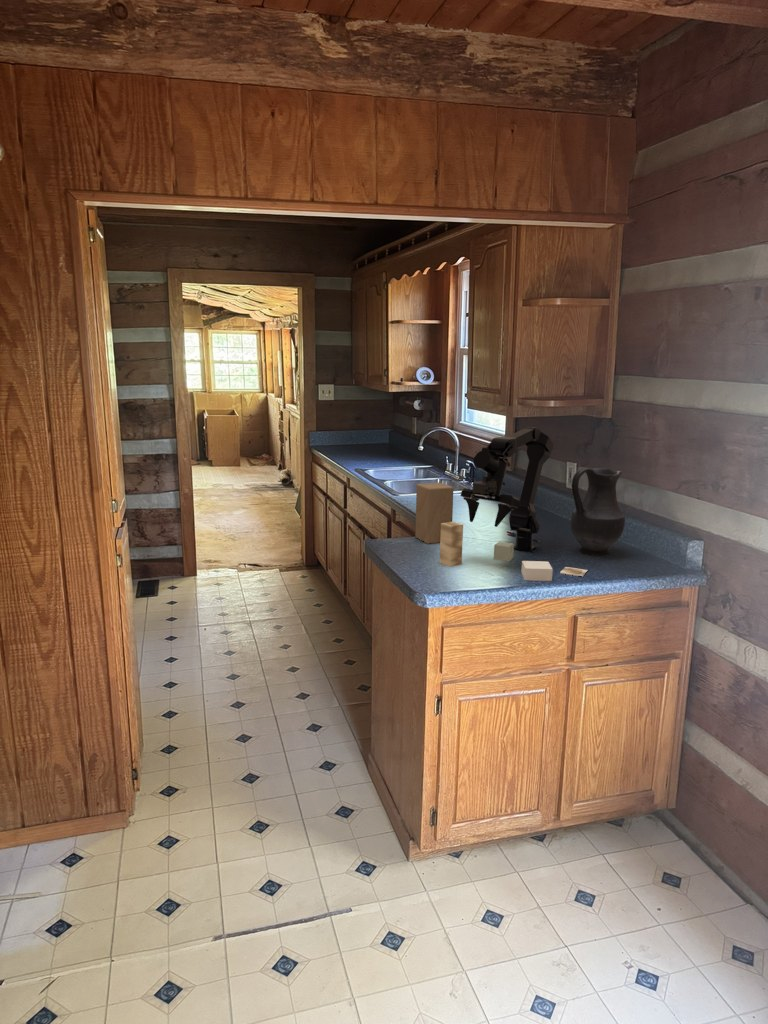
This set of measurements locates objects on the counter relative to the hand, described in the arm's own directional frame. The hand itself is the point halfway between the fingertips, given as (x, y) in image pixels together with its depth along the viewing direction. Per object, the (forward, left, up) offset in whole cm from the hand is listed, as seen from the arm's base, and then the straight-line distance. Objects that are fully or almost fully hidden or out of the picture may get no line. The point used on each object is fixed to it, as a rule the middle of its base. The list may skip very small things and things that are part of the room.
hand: (483, 524), depth 226 cm
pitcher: (-31, +28, -13) cm, 44 cm away
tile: (-6, +28, -13) cm, 32 cm away
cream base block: (+4, +19, -14) cm, 24 cm away
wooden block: (-21, -26, -13) cm, 36 cm away
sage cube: (-10, +4, -13) cm, 17 cm away
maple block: (+4, -9, -13) cm, 16 cm away
